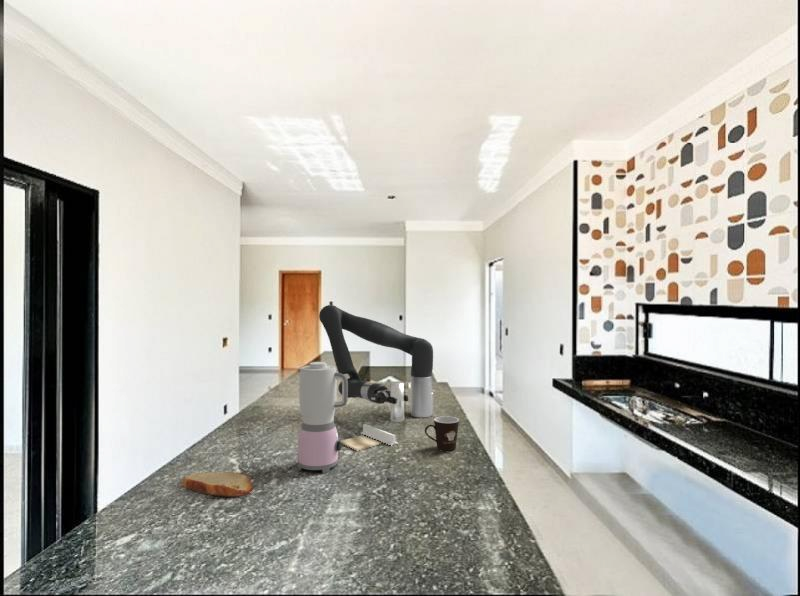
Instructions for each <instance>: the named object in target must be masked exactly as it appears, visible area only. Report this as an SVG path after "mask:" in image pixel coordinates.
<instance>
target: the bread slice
mask: <svg viewBox="0 0 800 596" xmlns="http://www.w3.org/2000/svg"><path fill="white" fill-rule="evenodd" d="M181 485H182V486H181V487H183V486H184V487H183V488H185V487H186V488H185V489H187V488H189V489H188V490H190V489H191V490H190V491H192V490H195V491H194V492H196V491H198V492H197V493H200V492H201V493H200V494H204V493H205V495H208V494H210V495H211V496H213V495H214V496H213V497H220V496H221V497H226V498H238V497H239V498H240V496H241V497H246V496H248V495H250V494H251V493H252V492H253V491H252V490H254V486H253V485H254V484H253V483H252V481H251V479H250V477H249V475H246V474H243V473H241V472H232V471H224V472H222V471H219V472H218V471H217V472H202V473H193V474H191V475H187V476H186V475H185V477H184V478H183V480H182V483H181ZM251 491H252V492H251ZM250 492H251V493H250ZM249 493H250V494H249ZM210 495H209V496H210ZM245 495H246V496H245ZM221 497H220V498H221Z"/></svg>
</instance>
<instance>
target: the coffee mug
mask: <svg viewBox="0 0 800 596" xmlns="http://www.w3.org/2000/svg"><path fill="white" fill-rule="evenodd" d="M433 421H434V422H433V423H434V425H433V424H429V425H427V426H425V428H424V434H425V435H426V436H427V438H429V439H431V440H432V441H433V442H434V441H435V443H436V449H437V448H438V449H439V450H438V449H437V450H438V451H440V450H442V451H441V452H443V451H451V452H454V451H456V450H457V441H458V433H459V432H458V431H459V425H460V423H459V422H460V419H459V418H458V417H455V416H454V417H453V416H448V415H447V416H443V415H441V416H437V417H434V419H433ZM431 427H432V428H433V429H434V433H435V438H433V437H432V436H430V435H429V434H428V433H427V430H428V428H431ZM455 449H456V450H455ZM453 450H454V451H453Z"/></svg>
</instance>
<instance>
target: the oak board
mask: <svg viewBox="0 0 800 596" xmlns="http://www.w3.org/2000/svg"><path fill="white" fill-rule="evenodd" d="M339 441H340V442H341V443H342V444H343V445H342V446H344V445H345V447H346V446H347V447H346V448H349V447H350V448H349V449H351V448H352V449H351V450H353V449H354V451H355V450H356V452H359V450H360V451H363V450H362V449H364V450H367V449H366V448H368V449H370V448H369V447H371V448H373V447H372V446H375V445H379V444H380V445H381V442H379V441H377V440H374V439H372V438H369V437H367V436H364V435H362V434H360V435H358V436H353V437H350V438H346V439H345V438H344V439H341V440H339ZM380 445H379V446H380ZM375 447H376V446H375Z"/></svg>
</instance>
